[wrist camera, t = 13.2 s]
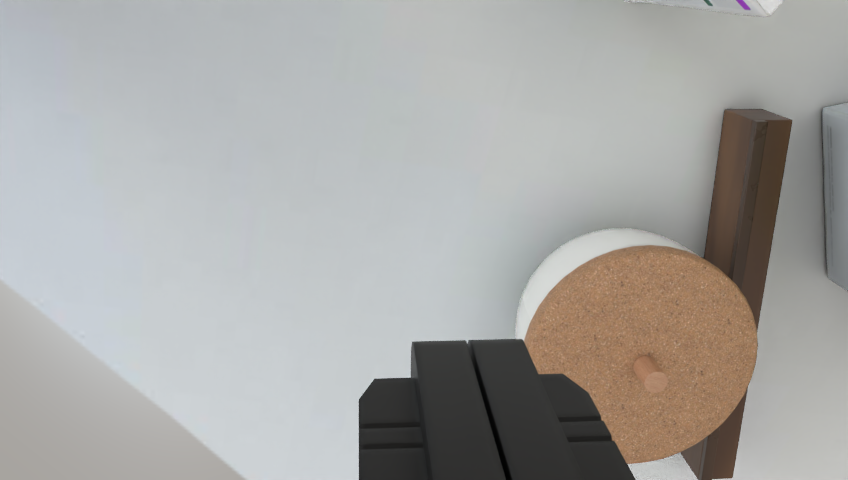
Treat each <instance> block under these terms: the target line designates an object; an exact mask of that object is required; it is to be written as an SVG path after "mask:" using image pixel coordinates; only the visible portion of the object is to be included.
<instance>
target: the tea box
mask: <svg viewBox="0 0 848 480" xmlns="http://www.w3.org/2000/svg"><path fill="white" fill-rule="evenodd" d="M822 115H823V159H824V194H825V228H826V255H827V269H828V278H829V279H830V280H832V281H833V282H835V283H836V284H838V285H839V286H841V287H842V288H844V289H845V290H847V291H848V103H843V104H838V105H833V106H829V107H824V109H823V113H822Z"/></svg>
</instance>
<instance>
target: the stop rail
mask: <svg viewBox="0 0 848 480" xmlns="http://www.w3.org/2000/svg"><path fill="white" fill-rule="evenodd" d="M791 125H792V120H790V119H788V118H785V117H782V116H779V115H776V114H774V113H771V112H768V111H765V110H763V109H725V111H724V118H723V125H722V133H721V140H720V147H719V154H718V161H717V169H716V176H715V183H714V190H713V198H712V205H711V212H710V219H709V226H708V234H707V241H706V248H705V255H704V259H705V260H707V261H708V262H710V263H711V264H713V265H714V266H716V267H717V268H719V269H720V270H721V271H722V272H724V273H725V274H726V275H727V276H728V277H729V278H730V279H731V280H732V281H733V282H734V283H735V284H736V285H737V286H738V288H739V289H740V291H741V292H742V293H743V295H744V296H745V298H746V299H747V302H748V304H749V306H750V308H751V310H752V313H753V316H754V320H755V324H756V328H758V322H759V316H760V310H761V304H762V298H763V292H764V287H765V281H766V275H767V269H768V263H769V257H770V251H771V245H772V239H773V233H774V227H775V221H776V215H777V209H778V203H779V197H780V191H781V185H782V179H783V173H784V167H785V161H786V155H787V149H788V143H789V137H790V131H791ZM747 388H748V387H747ZM746 394H747V389H746V391H745V394H744V396H743V397H742V399H741V400H740V402H739V403H738V405H737V406H736V408H735V409H734V410H733V412H732V413H731V414H730V415H729V416H728V418H727V419H726V420H725V421H724V422H723V423H722V424H721V425H720V426H719V427H718V428H717V429H715V430H714V431H713V432H712V433H711V434H710V435H708V436H707V437H705V438H704V439H703V440H701V441H700V442H698V443H697V444H695V445H693V446H691V447H689V448H687V449H685V450H683V451H681V452H680V453H681V454H682V456H683V457H684V459H685V460H686V462H687V463H688V465H689V466H690V468H691V469H692V471H693V472H694V474H695V475H696V477H697V479H698V480H712V479H723V478H732V477H733V471H734V465H735V460H736V454H737V448H738V442H739V436H740V430H741V424H742V418H743V412H744V406H745V400H746Z"/></svg>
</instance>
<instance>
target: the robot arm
mask: <svg viewBox="0 0 848 480" xmlns="http://www.w3.org/2000/svg"><path fill="white" fill-rule="evenodd" d="M359 480H635V478H634V476H633V474H632V473H631V471H630V469H629V467H628V465H627V463H626V461H625V459H624V458H623V456H622V454H621V452H620V450H619V448H618V446H617V445H616V443H615V441H612V435H611V433H610V432H609V430H608V428H607V426H606V424H605V422H604V421H601V415H600V413H599V411H598V409H597V407H596V406H595V404H594V402H593V400H592V398H591V396H590V394H589V393H588V392H587V391H585V390H584V389H583V388H581V387H580V386H579V385H577V384H576V383H575V382H573V381H572V380H571V379H569V378H568V377H567V376H565V375H564V374H563V373H562V374H538V372H537V370H536V367H535V365H534V363H533V361H532V358H531V356H530V354H529V352H528V349H527V347H526V345H525V343H524V341H523V340H522V339H499V340H469V341H468V344H467V343H466V341H465V340H464V341H422V342H412V349H411V378H387V379H374V380H373V382H372V383H371V384H370V386H369V387H368V388H367V390H366V391H365V392H364V394H363V395H362V396H361V398H360V399H359Z"/></svg>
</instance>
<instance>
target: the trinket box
mask: <svg viewBox="0 0 848 480" xmlns="http://www.w3.org/2000/svg"><path fill="white" fill-rule="evenodd" d="M515 339H522V340H523V341H524V343H525V345H526V347H527V349H528V352H529V354H530V356H531V358H532V361H533V363H534V365H535V367H536V370H537V372H538V374H562V373H563V374H564V375H565V376H567V377H568V378H569V379H571V380H572V381H573V382H575V383H576V384H577V385H579V386H580V387H581V388H583V389H584V390H585V391H587V392H588V393H589V394H590V396H591V398H592V400H593V402H594V404H595V406H596V407H597V409H598V411H599V413H600V415H601V421H604V422H605V424H606V426H607V428H608V430H609V432H610V433H611V435H612V441H615V443H616V445H617V446H618V448H619V450H620V452H621V454H622V456H623V458H624V459H625V461H626V463H627V464H632V463H642V462H649V461H654V460H659V459H663V458H666V457H669V456H671V455H674V454H677V453H679V452H681V451H683V450H685V449H687V448H689V447H691V446H693V445H695V444H697V443H698V442H700V441H701V440H703V439H704V438H705V437H707V436H708V435H710V434H711V433H712V432H713V431H714V430H715V429H717V428H718V427H719V426H720V425H721V424H722V423H723V422H724V421H725V420H726V419H727V418H728V416H729V415H730V414H731V413H732V412H733V410H734V409H735V408H736V406H737V405H738V403H739V402H740V400H741V399H742V397H743V396H744V394H745V391H746V389H747V387H748V385H749V382H750V380H751V377H752V374H753V370H754V367H755V363H756V356H757V347H758V343H757V328H756V324H755V320H754V316H753V313H752V310H751V308H750V306H749V304H748V302H747V299H746V298H745V296H744V295H743V293H742V292H741V291H740V289H739V288H738V286H737V285H736V284H735V283H734V282H733V281H732V280H731V279H730V278H729V277H728V276H727V275H726V274H725V273H724V272H722V271H721V270H720V269H719V268H717V267H716V266H714V265H713V264H711V263H710V262H708V261H707V260H705V259H704V258H702V257H700V256H698V255H697V254H695V253H694V252H692V251H691V250H689V249H688V248H686V247H685V246H683V245H681V244H679V243H677V242H675V241H673V240H671V239H668V238H666V237H664V236H662V235H659V234H655V233H651V232H647V231H643V230H639V229H630V228H613V229H604V230H599V231H594V232H590V233H587V234H584V235H581V236H579V237H576V238H574V239H572V240H570V241H568V242H566V243H565V244H563V245H561V246H560V247H559V248H557V249H556V250H555V251H553V252H552V253H551V254H550V255H549V256H548V257H547V258H546V259H545V260H544V261H543V262H542V263H541V264H540V265H539V266H538V268H537V269H536V270H535V272H534V273H533V274H532V276H531V278H530V279H529V281H528V283H527V285H526V287H525V289H524V291H523V293H522V296H521V299H520V302H519V305H518V311H517V317H516V325H515Z"/></svg>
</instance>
